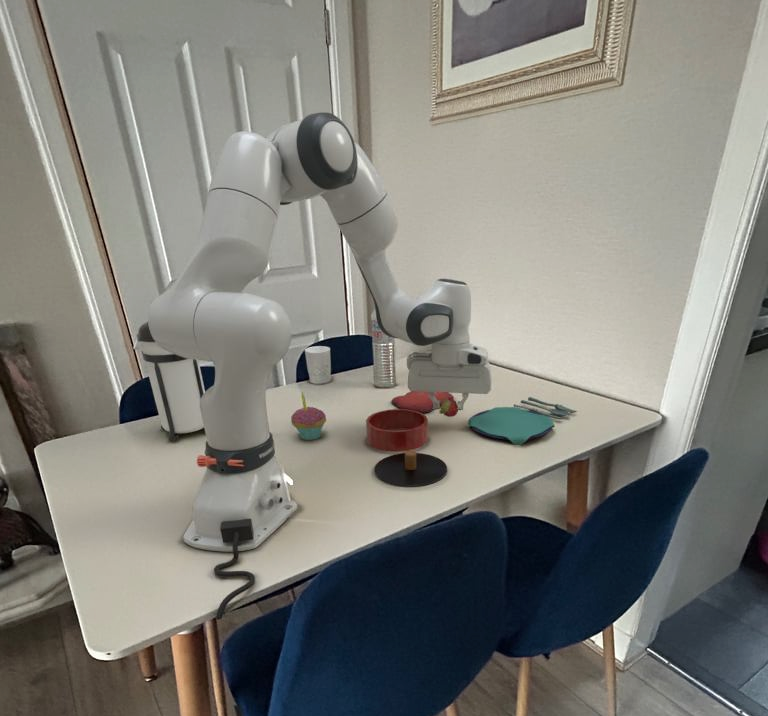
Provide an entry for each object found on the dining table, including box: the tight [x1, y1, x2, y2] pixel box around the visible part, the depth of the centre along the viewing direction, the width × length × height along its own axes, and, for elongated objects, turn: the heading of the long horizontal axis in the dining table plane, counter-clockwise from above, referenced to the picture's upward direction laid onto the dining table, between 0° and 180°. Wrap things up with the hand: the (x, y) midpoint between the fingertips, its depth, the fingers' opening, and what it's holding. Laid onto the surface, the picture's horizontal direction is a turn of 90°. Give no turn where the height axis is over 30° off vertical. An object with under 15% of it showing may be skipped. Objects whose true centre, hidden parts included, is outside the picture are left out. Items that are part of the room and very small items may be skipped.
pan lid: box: [373, 450, 448, 488], centre depth 114 cm, size 15×15×5 cm
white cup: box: [304, 345, 332, 385], centre depth 170 cm, size 8×8×10 cm
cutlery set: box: [467, 396, 578, 445], centre depth 136 cm, size 20×30×2 cm, turn 132°
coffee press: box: [133, 321, 206, 443], centre depth 133 cm, size 17×16×30 cm
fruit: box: [438, 398, 459, 418], centre depth 134 cm, size 4×6×5 cm
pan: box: [365, 408, 429, 453], centre depth 128 cm, size 14×14×5 cm
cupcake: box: [290, 391, 327, 441], centre depth 131 cm, size 9×8×12 cm
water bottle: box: [370, 308, 397, 389], centre depth 161 cm, size 7×7×25 cm
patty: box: [391, 391, 455, 414], centre depth 152 cm, size 18×14×2 cm
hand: (448, 408), depth 135 cm, fingers closed on fruit, 4 cm apart
